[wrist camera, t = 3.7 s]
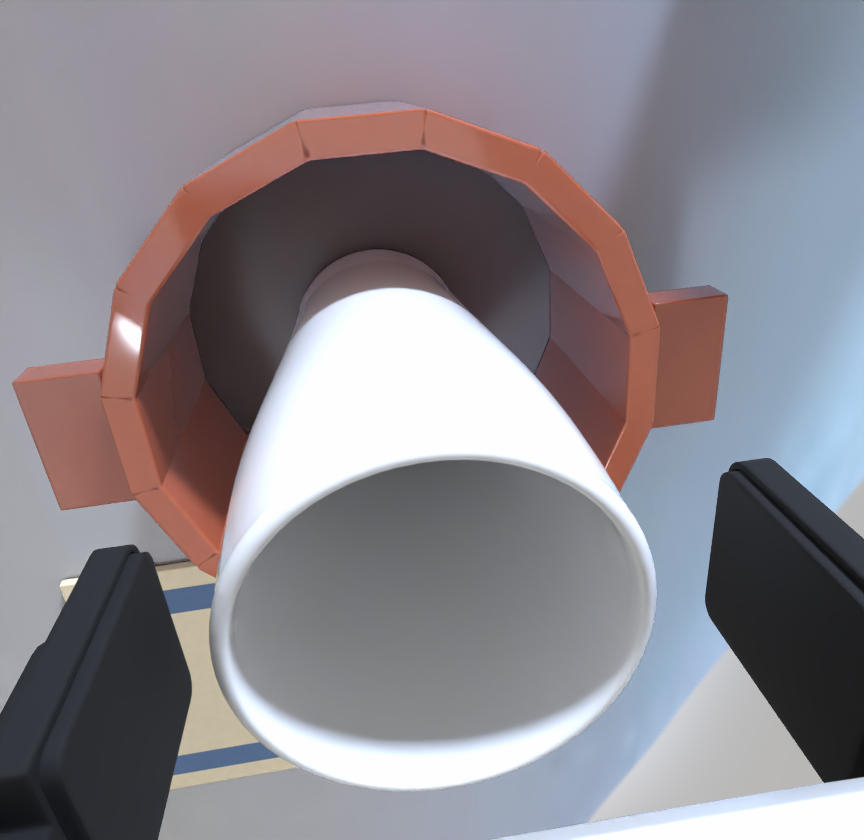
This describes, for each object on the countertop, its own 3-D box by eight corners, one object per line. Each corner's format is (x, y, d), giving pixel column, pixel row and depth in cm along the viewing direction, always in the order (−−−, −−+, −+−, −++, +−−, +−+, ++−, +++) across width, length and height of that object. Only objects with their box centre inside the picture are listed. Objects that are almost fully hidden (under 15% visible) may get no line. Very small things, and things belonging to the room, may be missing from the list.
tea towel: (146, 786, 31) (144, 794, 31) (62, 579, 26) (58, 586, 26) (571, 713, 33) (574, 720, 33) (574, 504, 28) (578, 510, 27)
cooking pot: (164, 526, 26) (111, 668, 19) (42, 133, 20) (-92, 156, 13) (619, 461, 27) (706, 574, 21) (637, 77, 21) (767, 75, 15)
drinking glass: (237, 274, 22) (96, 567, 9) (431, 186, 22) (596, 351, 8) (331, 443, 25) (334, 851, 12) (502, 368, 25) (708, 702, 11)
